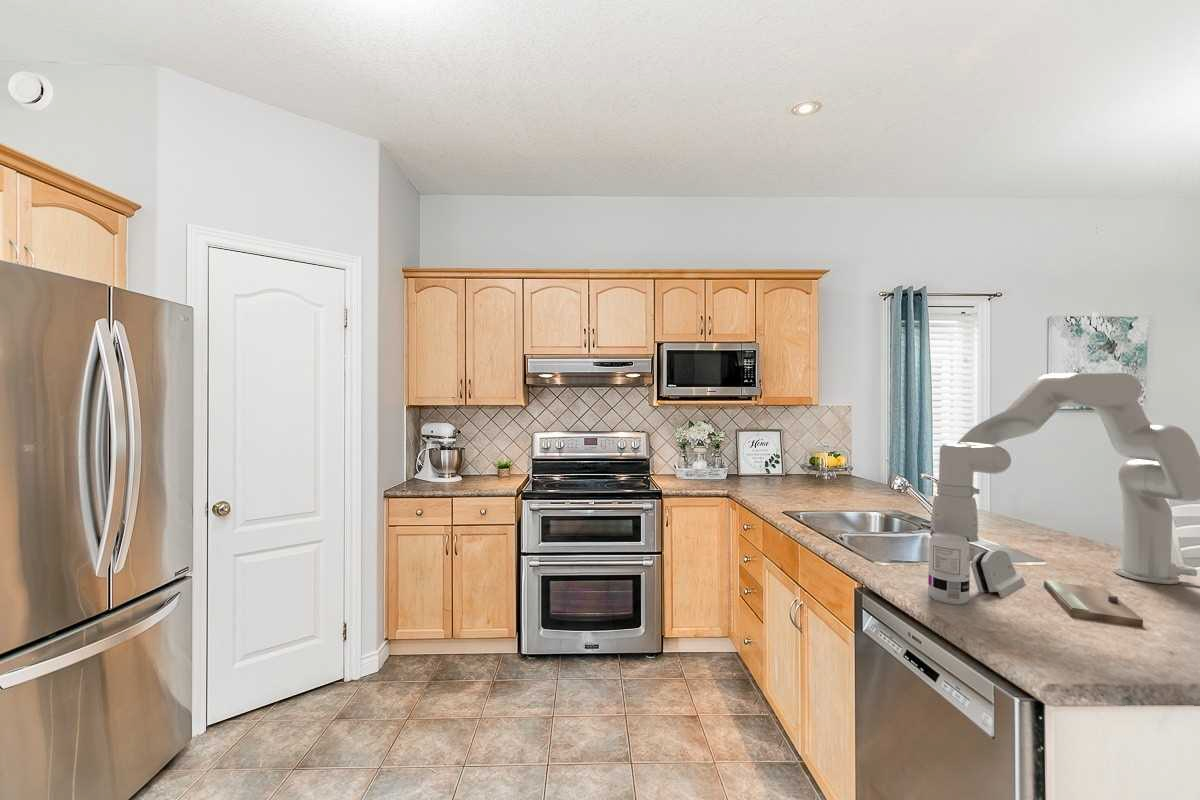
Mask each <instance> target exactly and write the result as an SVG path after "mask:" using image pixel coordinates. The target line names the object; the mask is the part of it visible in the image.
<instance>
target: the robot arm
mask: <svg viewBox="0 0 1200 800" xmlns="http://www.w3.org/2000/svg"><path fill="white" fill-rule="evenodd" d="M1142 392H1143V386H1142V383H1141V382H1140V380H1139V379H1138V378H1137V377H1136V376H1135V375H1133V374H1131V373H1128V372H1108V373H1107V372H1101V373H1091V372H1090V373H1089V372H1084V373H1083V372H1067V373H1064V372H1063V373H1061V372H1060V373H1049V374H1043V375H1042V376H1040V377H1038V378H1037V379H1035V380H1034V382H1032V383H1031V385H1029V386H1028V387H1027V388H1026V389H1025V390H1024V391H1023V392H1022V394H1020V395H1019V396H1018V397H1017V398H1016V399H1015V400H1014V401H1013V402H1012V404H1011V405H1009V406H1008V407H1007V408H1006V409H1005V410H1003V411H1001V412H999V413H997V414H995V415H993V416H992V417H990V418H987V419H986V420H983V421H982V422H980V423H978V424H977V425H975V426H973V427H972V428H971V429H969V430H968V431H967V432H966V433H965V435H963V436H962V437H961V438H960V439H959V440H958V442H957V443H944V444H942V445H940V448H939V462H938V464H939V467H938V488H937V489H938V491H937V492H938V493H935V494H934V496H933V500H932V506H931V507H932V508H931V515H930V531H929V536H930V537H931V536H932V534H933V533H952V534H957V535H961V536H964V537H966V538H967V541H968V543H977V542H979V540H980V539H979V536H978V534H979V533H978V532H979V517H978V516H979V515H978V505H977V500H976V497H974V495H980V488H976V487H974V473H983V474H988V475H997V474H1000V473H1003V472H1006V471H1007V470H1008V469H1009V468H1010V465H1011V464H1012V458H1011V455H1010V453H1009V452H1008V451H1007V450H1006V449H1005V448H1003V447H1001V446H1000V445H997V444H1000V443H1002V442H1004V441H1006V440H1011V439H1017V438H1020V437H1023V436H1027V435H1028V436H1029V435H1031V434H1033V433H1036V432H1038V431H1039V430H1040V429H1041V428H1042V427H1043V426H1044V425H1045V424H1046V423H1047V422H1048V421H1049V420H1050V419H1051V418H1052V417H1053V416H1054V414H1056V413H1057V412H1058V411H1059V410H1060V409H1061V408H1062V407H1085V408H1086V407H1088V408H1091V409H1093V411H1095V412H1096V413H1097V414H1098V415H1099V417H1100V419H1101V422H1102V423H1103V426H1104V428H1105V430H1106V433H1107V436H1108V438H1109V440H1110V443H1111V446H1112V447H1113V449H1114V450H1115V452H1116V453H1117V454H1118V455H1119V456H1121V457H1124V458H1128V459H1129V460H1128V461H1126V462H1124V463H1122V465H1121V466H1120V468H1119V470H1118V482H1119V486H1120V491H1121V497H1122V527H1121V528H1122V531H1121V532H1122V533H1121V534H1122V535H1121V536H1122V537H1121V564H1120V565H1115V566H1114V567H1113V572H1114V573H1115V574H1117V575H1119V576H1123V577H1124V578H1128V579H1131V580H1135V581H1140V582H1146V583H1152V584H1159V585H1161V584H1162V585H1176V584H1179V583H1180V576H1181V575H1183V576H1188V577H1189V576H1190V577H1197V576H1198V571H1197V569H1196V568H1189V567H1186V566H1182V565H1176V564H1175V563H1174V562H1172V550H1173V549H1172V545H1173V543H1172V542H1173V541H1172V540H1173V511H1172V509H1171V506H1170V504H1169V502H1168V501H1167V499H1168V500H1174V501H1180V502H1195V501H1199V500H1200V454H1199V451H1198V449H1197V447H1196V444H1195V442H1194V440H1193V438H1192V437H1191V435H1189V433H1188V432H1187V431H1186V430H1184V429H1182V428H1180V427H1179V426H1175V425H1171V424H1157V423H1155V424H1154V423H1152V422H1150V421H1149V420H1148V417H1147V415H1146V414H1145V411H1144V409H1143V407H1142V405H1141V403H1140V402H1139V401H1138V400H1139V399H1140V397H1141V396H1142ZM1130 459H1131V460H1130Z"/></svg>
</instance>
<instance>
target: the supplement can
mask: <svg viewBox="0 0 1200 800" xmlns="http://www.w3.org/2000/svg"><path fill="white" fill-rule="evenodd" d="M970 570H971V545H970V542H968V541H967V538H966V537H964V536H961V535H957V534H952V533H933V534H932V536H931V535H930V538H929V539H928V587H927V588H928V591H927V592H928V595H929V596H930V598H931V599H933V600H935V601H938V602H939V603H944V604H947V605H948V604H949V605H957V606H958V605H959V606H960V605H965V604H966V603H967V602H969V601H970V582H971V581H970V579H971V578H970V576H971V571H970Z"/></svg>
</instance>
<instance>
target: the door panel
mask: <svg viewBox="0 0 1200 800" xmlns="http://www.w3.org/2000/svg"><path fill="white" fill-rule="evenodd" d="M1043 587H1044V589H1045V590H1046V591H1047V592H1048V593H1049V594H1050V595H1051V596H1052V597H1053V599H1054V600H1055V601H1056V602H1057V603H1058V604H1059V605H1060V607H1062V609H1064V611H1065V612H1066V614H1068V615H1069V617H1073V618H1080V619H1085V620H1093V621H1099V622H1100V621H1101V622H1106V623H1107V622H1108V623H1114V624H1120V625H1128V626H1134V627H1142V628H1143V627H1144V619H1143V618H1141V617H1140V616H1139V615H1138V614H1137V613H1135V612H1134V611H1133V610H1132V609H1130V607H1129V606H1127V605H1126V604H1124V602H1122V601H1121V600H1119V598H1118V597H1119V596H1116V595H1114V594H1112V593H1111V592H1110V591H1109V590H1108V589H1106V588H1105V587H1098V586H1097V587H1096V586H1090V585H1089V586H1087V585H1081V584H1071V583H1065V582H1061V581H1054V580H1043Z"/></svg>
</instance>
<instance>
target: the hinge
mask: <svg viewBox="0 0 1200 800" xmlns="http://www.w3.org/2000/svg"><path fill="white" fill-rule="evenodd" d="M970 569H971V571H972V573H973V577H974V580H975V584H976V588H977V591H978V593H981V594H982V593H985V592H989V593H998V595H999V598H1001V599H1004V598H1005V597H1007V596H1009V595H1011V594H1013V593H1014V592H1016V591H1017V590H1018V589H1020V588H1023V587H1024V586H1026V582H1025V580H1024V577H1023V576H1021V575H1020V574H1018V573H1017V571H1016V569H1015V567H1014V564H1013V562H1012V561H1011V558H1010V555H1009V554H1008V552H1006V551H1004V550H999V549H998V550H995V549H993V550H985V551H981V552H979V553H977V554H976V555H975V556H974V557H973V558H972V561H970Z"/></svg>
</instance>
